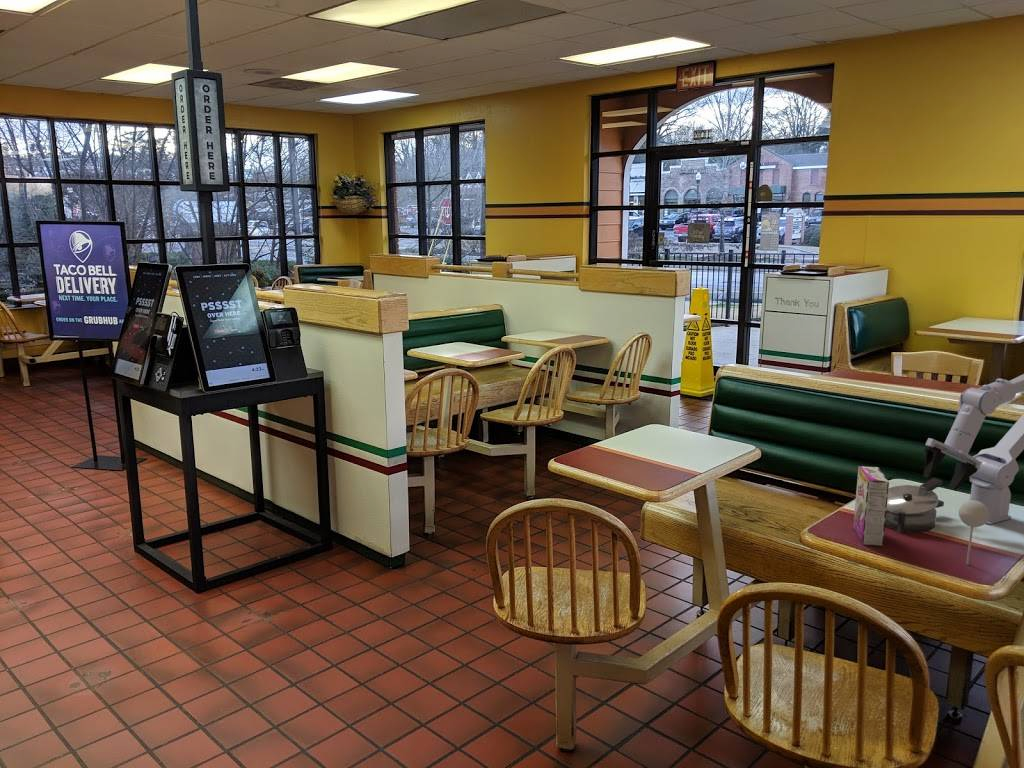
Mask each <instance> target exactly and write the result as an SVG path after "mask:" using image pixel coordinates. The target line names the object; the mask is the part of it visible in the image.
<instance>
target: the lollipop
mask: <svg viewBox="0 0 1024 768" xmlns="http://www.w3.org/2000/svg"><path fill="white" fill-rule="evenodd" d="M958 517H959V519H960V521H961V522H962V523H963V524H964V525H966V526H968V527H970V530H969V538H968V539H969V541H968V545H967V546H968V547H967V548H968V549H967V555H966V563H965V564H966V565H967V566H968V565H969V562H970V555H971V548H972V542H973V533H974V528H979V527H982V526H984V525H985V524H987V523H986V522H987V521H988V519H989V511H988V509H987V507H986V506H985V505H984V504H983V503H981V502H979V501H975V500H971V501H970V500H967V501H965V502H963V503H962V504H961V505H960V507H959V509H958Z"/></svg>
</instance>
